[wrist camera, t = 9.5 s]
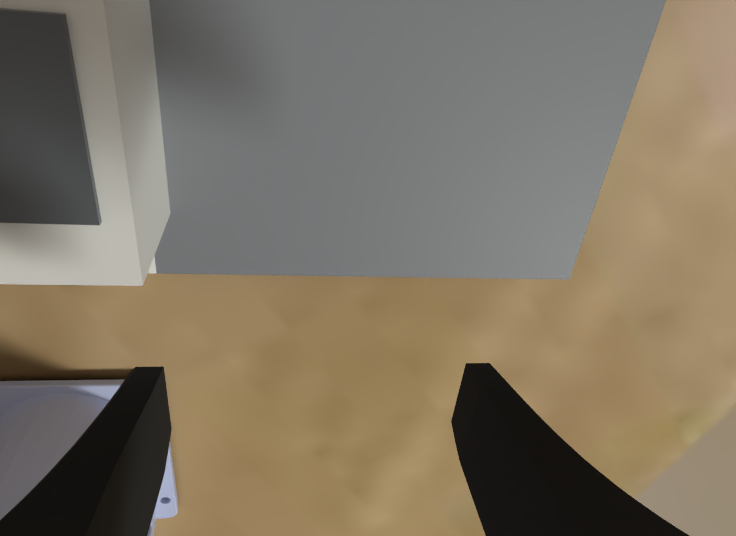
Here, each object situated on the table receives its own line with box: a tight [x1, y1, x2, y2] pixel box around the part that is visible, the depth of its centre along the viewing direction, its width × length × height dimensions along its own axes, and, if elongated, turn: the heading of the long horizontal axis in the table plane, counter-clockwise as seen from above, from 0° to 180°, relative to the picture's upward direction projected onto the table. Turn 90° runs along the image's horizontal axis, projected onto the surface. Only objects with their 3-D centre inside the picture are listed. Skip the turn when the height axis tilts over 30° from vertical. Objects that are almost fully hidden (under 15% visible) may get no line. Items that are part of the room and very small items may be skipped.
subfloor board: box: [148, 0, 666, 279], centre depth 18 cm, size 14×26×1 cm, turn 84°
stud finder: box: [0, 0, 170, 286], centre depth 15 cm, size 9×4×5 cm, turn 174°
